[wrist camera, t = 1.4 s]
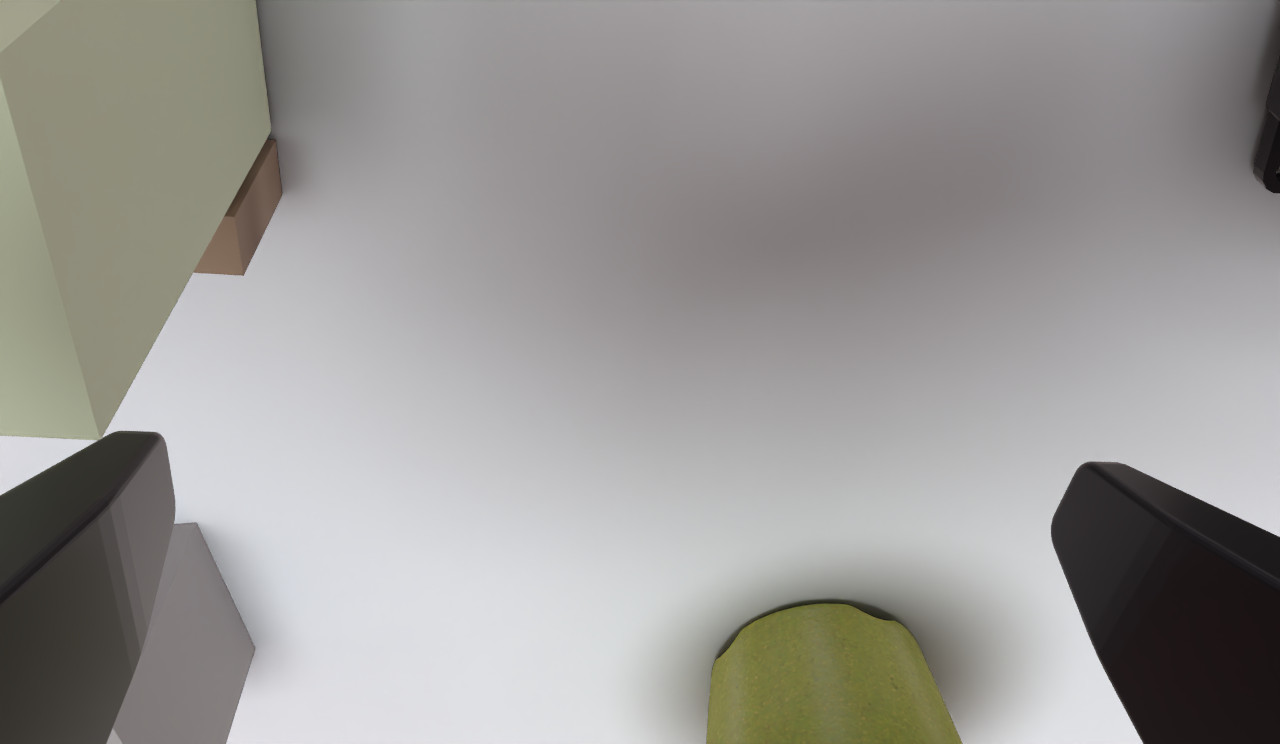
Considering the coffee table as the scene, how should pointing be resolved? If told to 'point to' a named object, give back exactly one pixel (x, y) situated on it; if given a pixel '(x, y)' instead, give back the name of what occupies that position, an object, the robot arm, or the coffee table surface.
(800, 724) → the plant pot
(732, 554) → the coffee table surface
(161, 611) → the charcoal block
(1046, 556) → the coffee table surface
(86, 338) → the pale green block
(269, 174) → the walnut console
